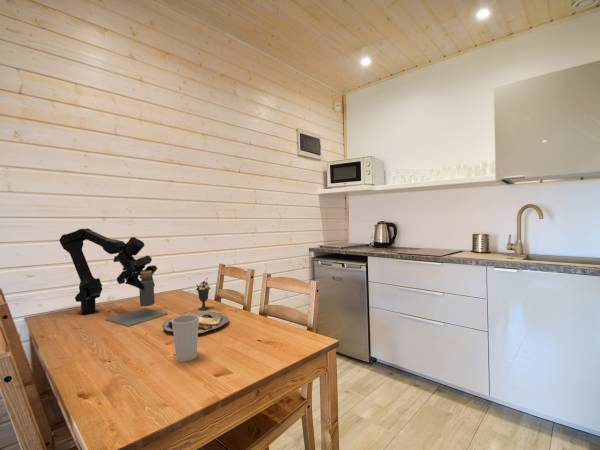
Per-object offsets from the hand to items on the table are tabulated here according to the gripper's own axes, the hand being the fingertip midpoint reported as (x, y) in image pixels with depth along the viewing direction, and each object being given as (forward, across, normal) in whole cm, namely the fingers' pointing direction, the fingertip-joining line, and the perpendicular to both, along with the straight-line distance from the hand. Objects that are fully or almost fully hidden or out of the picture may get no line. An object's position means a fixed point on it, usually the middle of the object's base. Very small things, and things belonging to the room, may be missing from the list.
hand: (149, 287), depth 136 cm
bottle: (+5, 0, +6) cm, 8 cm away
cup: (+39, -31, -21) cm, 54 cm away
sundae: (+22, +16, -3) cm, 27 cm away
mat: (+6, -2, +12) cm, 14 cm away
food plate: (+29, -6, -11) cm, 32 cm away
